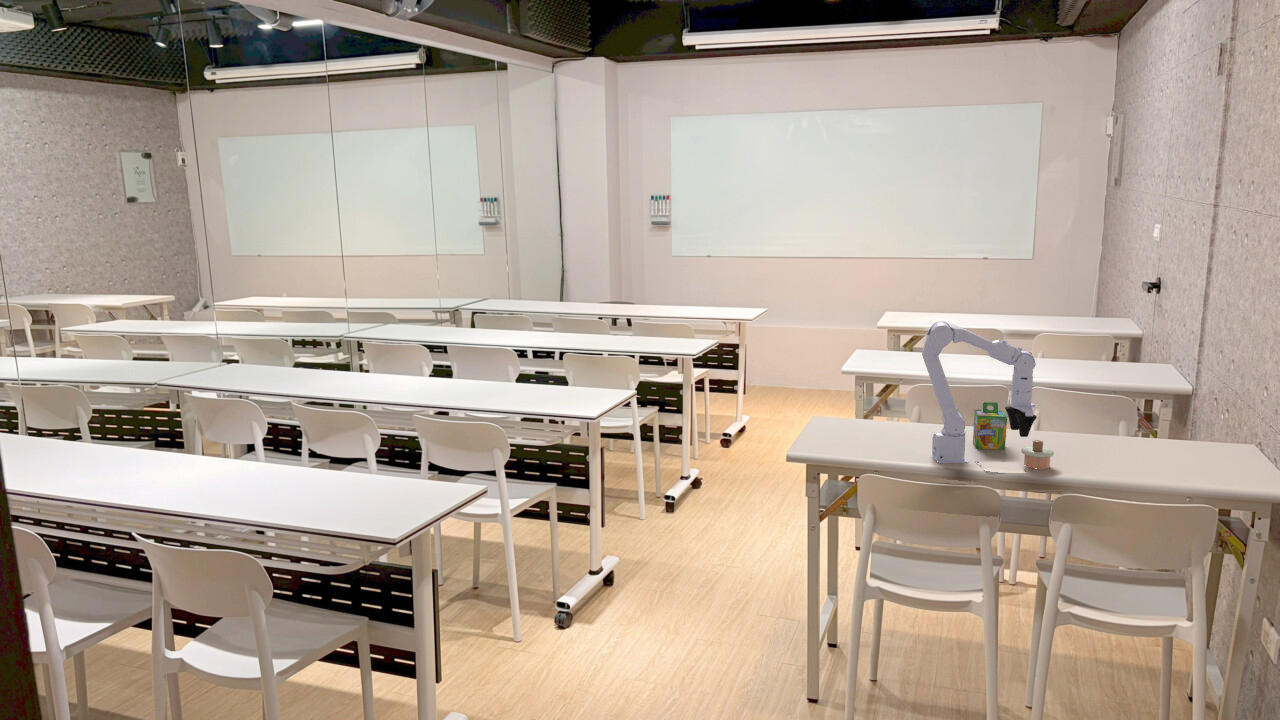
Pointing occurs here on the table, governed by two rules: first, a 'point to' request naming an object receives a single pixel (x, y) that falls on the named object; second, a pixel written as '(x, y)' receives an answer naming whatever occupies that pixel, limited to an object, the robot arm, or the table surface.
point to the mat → (991, 472)
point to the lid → (1037, 450)
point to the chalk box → (989, 427)
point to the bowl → (1037, 462)
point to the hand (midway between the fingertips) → (1019, 433)
